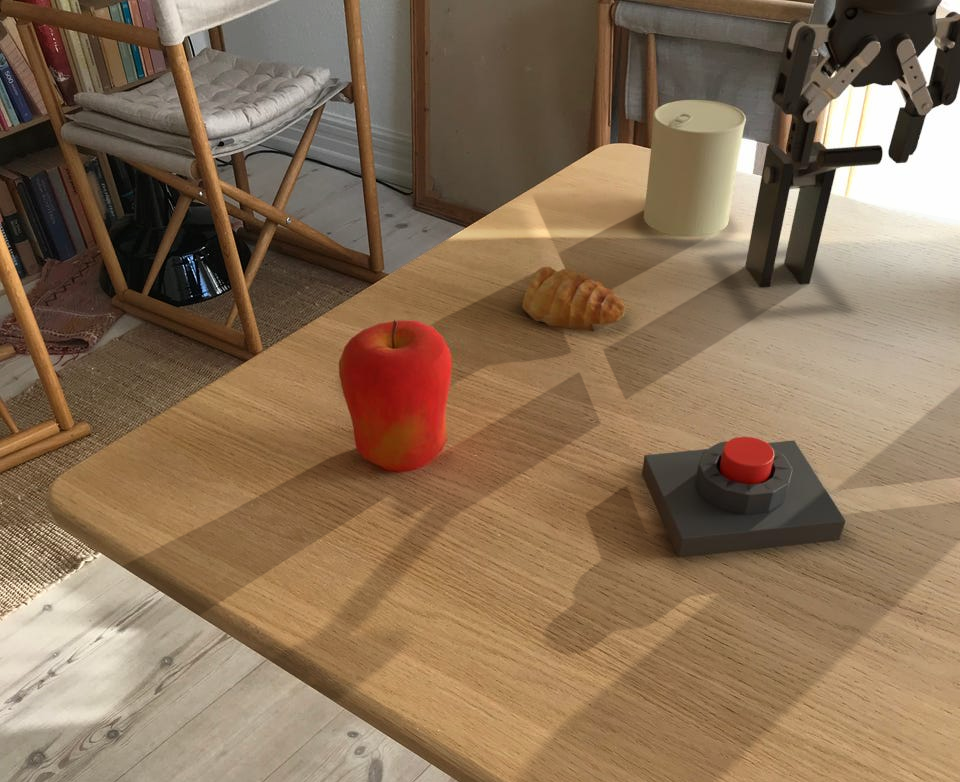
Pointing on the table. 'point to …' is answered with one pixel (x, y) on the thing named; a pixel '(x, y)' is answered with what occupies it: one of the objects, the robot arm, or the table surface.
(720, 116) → the can
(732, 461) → the button
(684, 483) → the button box
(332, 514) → the table surface
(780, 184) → the bracket
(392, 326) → the apple
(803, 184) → the lever
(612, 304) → the pastry
